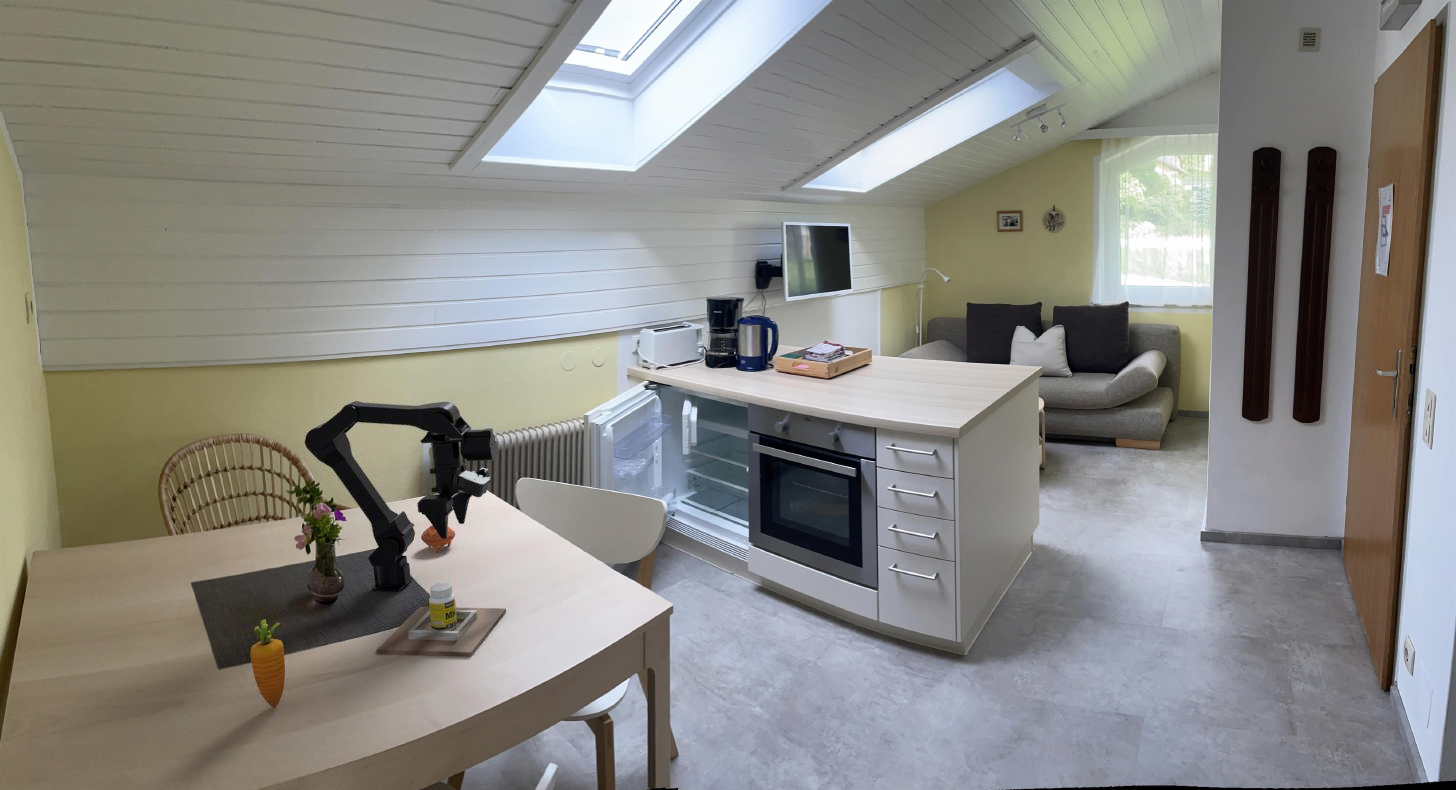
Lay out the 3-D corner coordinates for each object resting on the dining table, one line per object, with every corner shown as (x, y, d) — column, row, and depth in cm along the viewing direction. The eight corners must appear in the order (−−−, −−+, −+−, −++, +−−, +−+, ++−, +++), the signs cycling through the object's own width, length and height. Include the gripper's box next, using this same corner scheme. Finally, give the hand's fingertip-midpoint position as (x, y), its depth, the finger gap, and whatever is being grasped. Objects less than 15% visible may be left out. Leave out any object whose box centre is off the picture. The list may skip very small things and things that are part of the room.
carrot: (265, 699, 140) (254, 615, 137) (296, 697, 140) (285, 613, 137) (251, 716, 135) (239, 629, 132) (284, 714, 135) (272, 627, 132)
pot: (413, 552, 203) (414, 524, 203) (433, 548, 210) (434, 521, 211) (442, 554, 201) (442, 526, 201) (461, 550, 208) (462, 522, 208)
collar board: (376, 653, 154) (375, 642, 154) (420, 610, 172) (419, 599, 171) (471, 656, 153) (470, 644, 152) (506, 612, 170) (505, 601, 170)
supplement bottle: (449, 634, 159) (445, 592, 158) (426, 632, 160) (422, 591, 159) (462, 622, 164) (458, 582, 163) (439, 621, 165) (436, 580, 163)
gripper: (465, 474, 170) (472, 547, 173) (499, 450, 188) (504, 517, 191) (413, 473, 171) (420, 546, 174) (451, 450, 189) (457, 516, 192)
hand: (453, 530), depth 183 cm, fingers open, 9 cm apart
